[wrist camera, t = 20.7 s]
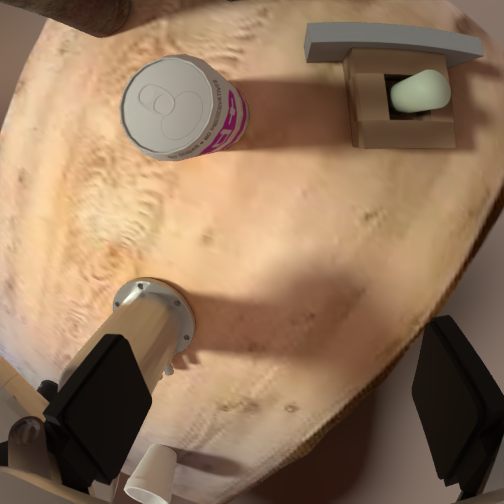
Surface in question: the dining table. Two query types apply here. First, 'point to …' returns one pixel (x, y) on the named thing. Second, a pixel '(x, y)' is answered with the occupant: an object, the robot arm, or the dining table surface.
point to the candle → (80, 13)
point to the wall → (386, 41)
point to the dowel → (418, 93)
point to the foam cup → (153, 476)
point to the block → (376, 105)
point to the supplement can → (182, 109)
